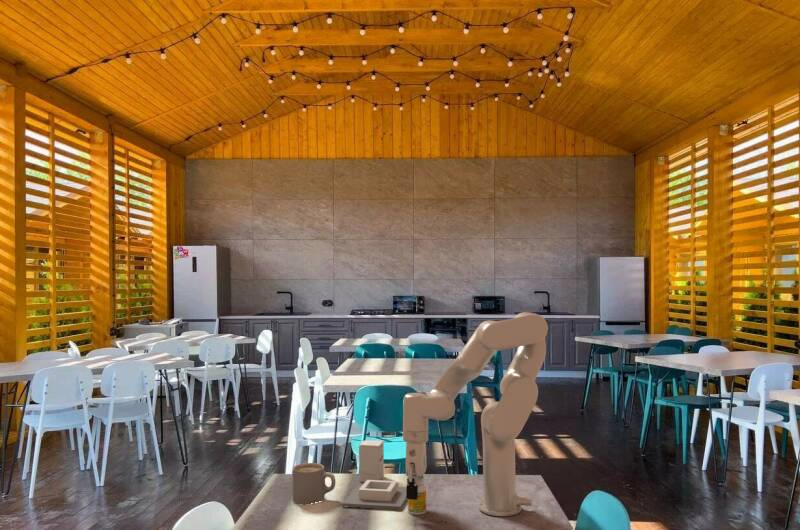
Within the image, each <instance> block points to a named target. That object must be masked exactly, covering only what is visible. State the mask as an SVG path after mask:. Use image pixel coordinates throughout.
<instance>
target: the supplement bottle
mask: <svg viewBox="0 0 800 530" xmlns="http://www.w3.org/2000/svg"><path fill="white" fill-rule="evenodd" d="M414 481H415V478H414ZM424 481H425V480H424V477H423V478H422V477H417V485H418V498H417V499H416V500H414V499H407V512H408V513H409V514H411V515H415V516H417V515H423V514H425V513H426V512H427V487H426V486H425V485H424V483H425V482H424Z"/></svg>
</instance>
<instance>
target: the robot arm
mask: <svg viewBox="0 0 800 530" xmlns="http://www.w3.org/2000/svg"><path fill="white" fill-rule="evenodd" d="M548 331H549V326H548V322H547V320H546V319H545V318H544V317H543V316H542V315H540V314H538V313H534V312H528V311H523V312H519V313H518V314H516V315H515V317H513V318H508V319H504V320H498V321H496V320H485V321H482V322H481V323H480V324H479V325H478V326H477V328H476V329H475V330H474V332H473V334H471V337H469V339H468V341H467V342H466V344H465V346H464V347H463V349H462V350H461V351H460V352H459V354H458V355H457V356H456V358H455V359H454V361H453V362H452V363H451V364H450V366H449V367H448V368H447V369H446V370H445V372H444V373H443V374H442V375H441V377H440V378H439V380H438V381H437V382H436V384H435V385H434V386H433V388H432V389H431V391H430V393H429V395H427V394H426V393H423V392H422V393H421V392H408V393H405V395H404V396H403V399H402V400H403V401H402V404H403V405H402V406H403V407H402V408H403V409H402V411H403V413H402V414H403V415H402V417H403V418H402V441H403V442H404V443H406V444H405V476H406V477H407V479H406V486H405V487H406V498H407V500H408V499H414V500H416V499H417V498H418V485H417V477H422V478H423V479H424V474H425V472H426V470H427V444H426V443H427V442H429V420H435V421H442V422H443V421H447V420H450V419H451V418H452V417H453V416H454V414H455V411H456V404H455V402H454V401H455V399H456V398H457V396H458V395H459V393H460V392H461V391H462V389H464V387H465V386H466V385H468V384H469V383H470V382H471V381H473V380H475V379H477V378H478V377H479V376H480V375H481V374H482V373H483V371H484V369H485V368H486V367H487V365H488V364H489V362H490V360H491V359H492V357H493V356H494V355H495V353H497V352H499V351H505V350H510V349H511V350H512V349H515V348H517V350H516V351H515V354H514V356H513V357H512V358H513V359H512V361H511V363H510V364H509V366H508V368H507V370H506V372H505V373H504V375H503V377H502V379H501V380H500V384H499V391H500V394H501V397H500V399H499V400H498V401H492V402H490V403H488V404H487V405H485V407H484V408H483V409H482V412H481V416H480V425H481V437H482V465H483V466H482V474H483V475H482V477H483V479H482V481H483V500H481V501H479V503H478V510H479V511H480V512H482V513H483V514H486V515H488V516H495V517H510V516H515V515H518V514H519V513H520V512H521V511H522V506H525V507H531V506H532V499H531V498H528V497H527V496H520V495H518V491H517V490H516V485H517V484H516V444H515V439H516V438H517V437H518V436H519V435H520V433H521V431H522V430H523V428H524V427H525V425H526V422H527V421H528V419H529V417H530V415H531V414H532V411H533V409H534V407H535V405H536V403H537V401H538V397H539V388H538V385H537V383H536V380H537V377H538V375H539V373H540V370H541V368H542V366H543V365H544V361H545V358H546V354H547V342H546V336H547V334H548ZM414 478H415V481H414Z"/></svg>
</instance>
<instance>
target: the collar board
mask: <svg viewBox="0 0 800 530" xmlns="http://www.w3.org/2000/svg"><path fill="white" fill-rule="evenodd" d="M407 501H408V499H407V498H406V486H398V480H382V479H381V480H366V482H363V484H357V485H356V487H355V488H354V489H353V490H352V491H351V493H350V494H349V495H348V496H347V497H346V499H344V501H343V502H342V507H343V506H348V507H361V508H360V509H365V508H374V509H373V510H383V511H384V510H385V511H398V510H400V512H401V511H402V509H403V508H402V507H404V506H405V504H404V503H406V502H407ZM403 505H404V506H403ZM348 507H347V508H348Z"/></svg>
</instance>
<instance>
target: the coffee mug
mask: <svg viewBox="0 0 800 530" xmlns="http://www.w3.org/2000/svg"><path fill="white" fill-rule="evenodd" d="M327 478H329V479H330V481H331V484H330V485H329V486H327V484H326V479H327ZM335 487H336V476H335V474H333V473H332V472H329V471H328V472H326V471H325V466H324V465H323V464H321V463H318V462H317V463H315V462H306V463H300V464H296V465H294V466H293V467H292V502H293V503H294V504H295V505H300V504H302V505H301V506H307V505H306V504H311V503H315V502H319V501H322V500H323V499H324V498H325V496H326V494H327V493H330V492H332V491H333V490H334V489H335ZM324 500H325V499H324ZM324 500H323V501H324ZM323 501H322V502H323Z"/></svg>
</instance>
